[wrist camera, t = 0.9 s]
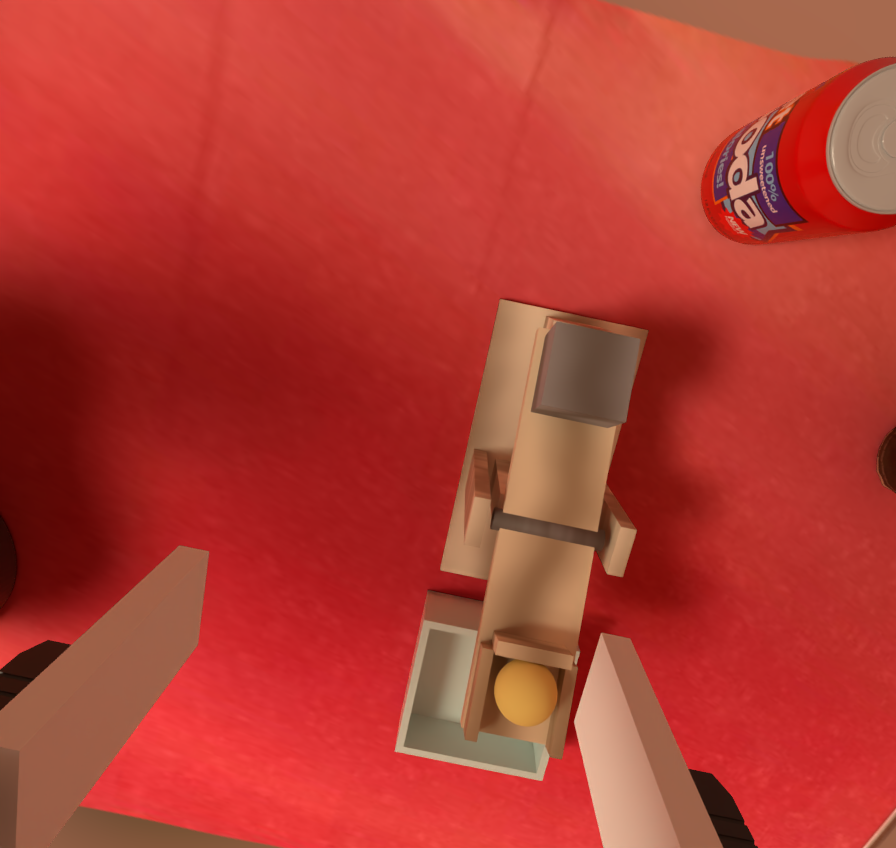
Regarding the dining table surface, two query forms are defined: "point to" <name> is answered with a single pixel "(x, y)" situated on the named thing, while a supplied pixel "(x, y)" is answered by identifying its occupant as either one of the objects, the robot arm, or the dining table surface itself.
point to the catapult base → (496, 439)
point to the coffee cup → (887, 461)
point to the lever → (550, 522)
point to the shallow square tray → (455, 696)
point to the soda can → (811, 163)
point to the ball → (525, 692)
